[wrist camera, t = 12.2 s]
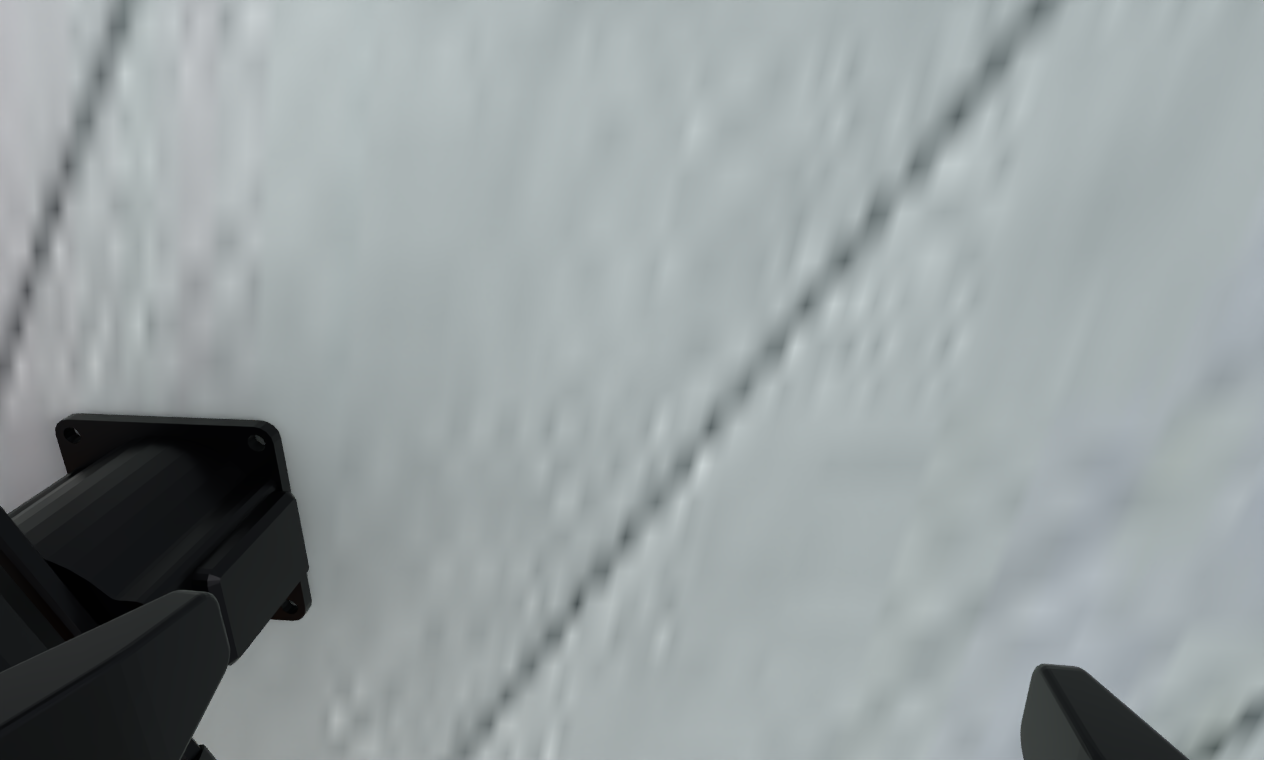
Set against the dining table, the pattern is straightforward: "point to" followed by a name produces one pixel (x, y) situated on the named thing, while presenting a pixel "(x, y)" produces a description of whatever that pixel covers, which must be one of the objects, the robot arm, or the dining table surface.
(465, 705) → the dining table surface
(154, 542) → the robot arm
